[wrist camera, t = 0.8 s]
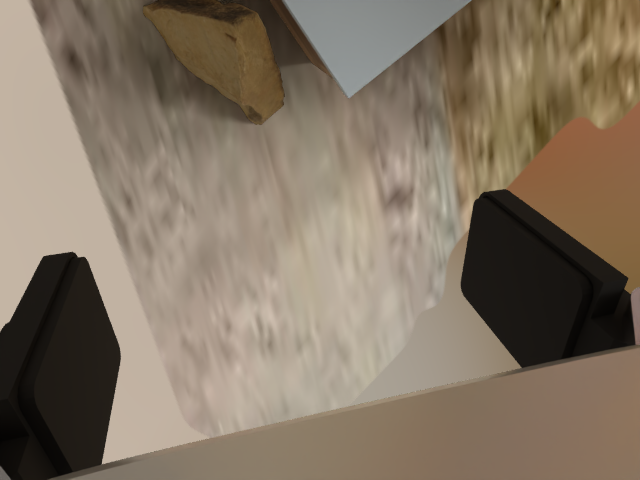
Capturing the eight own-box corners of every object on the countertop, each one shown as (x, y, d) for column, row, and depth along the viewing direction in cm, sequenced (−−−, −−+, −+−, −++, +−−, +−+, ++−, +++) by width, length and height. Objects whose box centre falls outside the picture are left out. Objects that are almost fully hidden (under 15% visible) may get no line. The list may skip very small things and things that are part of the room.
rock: (320, 122, 36) (307, -20, 30) (272, 179, 30) (243, 18, 24) (205, 110, 40) (171, -19, 33) (142, 159, 34) (87, 15, 27)
